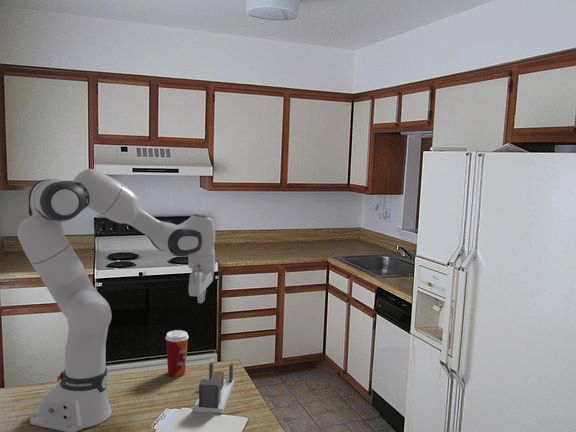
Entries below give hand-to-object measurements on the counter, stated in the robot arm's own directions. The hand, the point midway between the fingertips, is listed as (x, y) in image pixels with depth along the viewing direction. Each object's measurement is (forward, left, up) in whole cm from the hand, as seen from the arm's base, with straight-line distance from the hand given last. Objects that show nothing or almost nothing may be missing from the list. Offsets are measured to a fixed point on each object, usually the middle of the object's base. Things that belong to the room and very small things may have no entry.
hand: (201, 301), depth 169 cm
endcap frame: (+7, -9, -29) cm, 31 cm away
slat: (+8, -11, -28) cm, 31 cm away
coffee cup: (-10, +6, -29) cm, 32 cm away
